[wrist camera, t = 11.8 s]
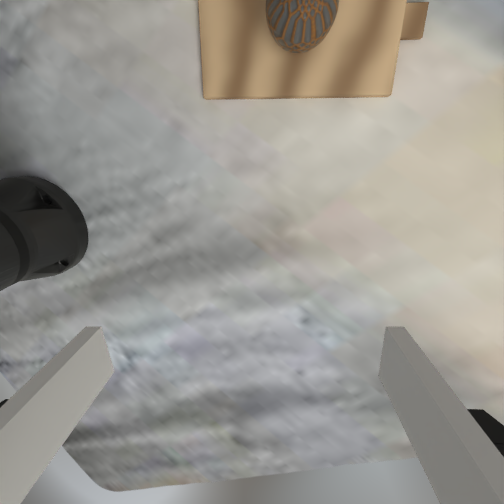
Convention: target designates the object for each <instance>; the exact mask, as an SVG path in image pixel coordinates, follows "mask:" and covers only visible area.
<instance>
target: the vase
mask: <svg viewBox="0 0 504 504" xmlns="http://www.w3.org/2000/svg"><path fill="white" fill-rule="evenodd" d="M338 6H339V0H266V19H267V24H268V28H269V31H270V33H271V36H272V37H273V39H274V40H275V42H276V43H277V44H278V45H279V46H280V47H281V48H282V49H284V50H286V51H288V52H291V53H303V52H307V51H309V50H311V49H313V48H314V47H316V46H317V45H318V44H320V43H321V42H322V41H323V39H324V38H325V37H326V35H327V34H328V33H329V31H330V29H331V27H332V25H333V23H334V21H335V18H336V15H337V11H338Z"/></svg>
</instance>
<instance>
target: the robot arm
mask: <svg viewBox="0 0 504 504" xmlns="http://www.w3.org/2000/svg"><path fill="white" fill-rule="evenodd" d="M87 245H88V231H87V227H86V223H85V220H84V218H83V216H82V214H81V212H80V210H79V208H78V207H77V205H76V204H75V203H74V201H73V200H72V199H71V198H70V197H69V196H68V195H67V194H66V193H65V192H64V191H62V190H61V189H60V188H58V187H57V186H55V185H54V184H52V183H50V182H48V181H46V180H43V179H40V178H36V177H30V176H21V177H11V178H5V179H1V180H0V291H1V290H3V289H5V288H7V287H9V286H11V285H13V284H15V283H17V282H19V281H25V280H31V279H37V278H43V277H50V276H54V275H58V274H60V273H63V272H64V271H66V270H68V269H70V268H72V267H73V266H75V265H76V264H77V263H79V262H80V260H81V259H82V258H83V256H84V254H85V252H86V249H87ZM113 373H114V368H113V365H112V361H111V358H110V355H109V351H108V348H107V345H106V341H105V338H104V334H103V331H102V328H101V327H85V328H84V329H83V330H82V331H81V332H80V333H79V334H78V335H77V336H76V337H75V338H74V339H72V340H71V341H70V342H69V343H68V344H67V345H66V346H65V347H64V348H63V349H62V350H61V351H60V352H59V353H58V354H57V355H56V356H55V357H53V358H52V359H51V360H50V361H49V362H48V363H47V364H46V365H45V366H44V367H43V368H42V369H41V370H40V371H39V372H38V373H37V374H35V375H34V376H33V377H32V378H31V379H30V380H29V381H28V382H27V383H26V384H25V385H24V386H23V387H22V388H21V389H20V390H19V391H17V392H16V393H15V395H13V396H12V397H11V398H10V399H5V400H4V401H2V402H1V403H0V504H20V503H21V502H22V501H23V499H24V498H25V496H26V495H27V494H28V492H29V491H30V489H31V488H32V486H33V485H34V484H35V482H36V481H37V480H38V478H39V477H40V475H41V474H42V473H43V471H44V470H45V468H46V467H47V465H48V464H49V463H50V461H51V460H52V459H53V457H54V456H55V454H56V453H57V452H58V450H59V449H60V447H61V446H62V445H63V443H64V442H65V440H66V439H67V438H68V436H69V435H70V433H71V432H72V430H73V429H74V428H75V426H76V425H77V423H78V422H79V421H80V419H81V418H82V416H83V415H84V414H85V412H86V411H87V409H88V408H89V407H90V405H91V404H92V402H93V401H94V400H95V398H96V397H97V395H98V394H99V393H100V391H101V390H102V388H103V387H104V386H105V384H106V383H107V381H108V380H109V379H110V377H111V376H112V374H113ZM378 376H379V378H380V380H381V382H382V384H383V386H384V388H385V390H386V392H387V394H388V396H389V398H390V400H391V403H392V405H393V407H394V409H395V411H396V413H397V415H398V417H399V419H400V421H401V423H402V425H403V427H404V429H405V432H406V434H407V436H408V438H409V440H410V442H411V444H412V446H413V448H414V450H415V452H416V454H417V456H418V458H419V460H420V463H421V465H422V467H423V469H424V471H425V473H426V475H427V477H428V479H429V481H430V483H431V485H432V487H433V489H434V491H435V494H436V496H437V498H438V500H439V502H440V504H504V426H503V425H502V424H501V423H500V422H498V421H497V420H496V419H494V418H493V417H492V416H491V415H489V414H488V413H487V412H485V411H484V410H477V409H466V407H465V406H464V405H463V403H462V402H461V401H460V399H459V398H458V397H457V396H456V394H455V393H454V392H453V390H452V389H451V388H450V386H449V385H448V384H447V382H446V381H445V380H444V379H443V377H442V376H441V375H440V373H439V372H438V371H437V369H436V368H435V367H434V365H433V364H432V363H431V362H430V360H429V359H428V358H427V356H426V355H425V354H424V352H423V351H422V350H421V348H420V347H419V346H418V344H417V343H416V342H415V341H414V339H413V338H412V337H411V335H410V334H409V333H408V331H407V330H406V329H405V327H386V329H385V335H384V342H383V348H382V355H381V361H380V368H379V374H378Z"/></svg>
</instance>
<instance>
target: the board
mask: <svg viewBox="0 0 504 504" xmlns="http://www.w3.org/2000/svg"><path fill="white" fill-rule="evenodd" d="M406 1H407V0H339V6H338V11H337V15H336V18H335V21H334V23H333V25H332V27H331V29H330V31H329V33H328V34H327V35H326V37H325V38H324V39H323V41H322V42H321V43H320V44H318V45H317V46H316V47H314V48H313V49H311V50H309V51H307V52H303V53H291V52H288V51H286V50H284V49H282V48H281V47H280V46H279V45H278V44H277V43H276V42H275V40H274V39H273V37H272V36H271V33H270V31H269V28H268V24H267V19H266V0H198V6H199V24H200V42H201V60H202V78H203V96H204V98H205V99H206V100H211V99H281V98H351V97H388V96H390V95H391V94H392V88H393V81H394V75H395V69H396V63H397V57H398V50H399V44H400V40H414V39H421V38H422V37H423V31H424V26H425V20H426V15H427V10H428V4H429V2H418V3H406Z"/></svg>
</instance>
